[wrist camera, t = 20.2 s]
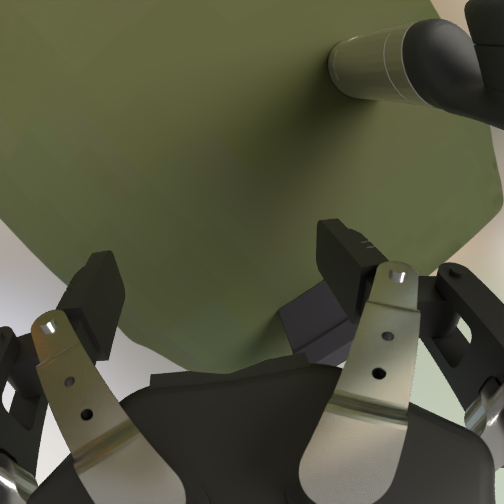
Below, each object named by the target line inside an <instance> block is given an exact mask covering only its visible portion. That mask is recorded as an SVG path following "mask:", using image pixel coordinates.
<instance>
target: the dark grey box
mask: <svg viewBox="0 0 504 504" xmlns="http://www.w3.org/2000/svg"><path fill="white" fill-rule="evenodd" d="M278 312H279V315H280V318H281V320H282V323H283V326H284V329H285V332H286V334H287V337H288V340H289V343H290V346H291V348H292V351H293V355H294V354H299V353H304V352H305V354H306V356H307V359H308V362H309V363H319V364H327V365H332V366H337V365H339V364H341V363H343V362H344V361H346V360H347V357H348V354H349V351H350V349H351V346H352V343H353V340H354V337H355V334H356V331H357V328H358V325H359V324H355V325H352V324H351V322H350V320H349V319H348V317H347V315H346V314H345V312H344V310H343V309H342V307H341V305H340V304H339V302H338V301H337V299H336V297H335V296H334V294H333V292H332V291H331V289H330V288H329V286H328V284H327V283H326V281H325V280H323V281H322V282H320V283H319V284H317V285H316V286H314V287H313V288H311V289H310V290H308V291H306V292H305V293H303V294H302V295H300V296H299V297H297V298H296V299H294V300H293V301H291V302H290V303H288V304H286V305H285V306H283V307H282V308H280V309H279V310H278Z"/></svg>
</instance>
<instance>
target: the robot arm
mask: <svg viewBox="0 0 504 504" xmlns="http://www.w3.org/2000/svg"><path fill="white" fill-rule="evenodd" d="M464 11H465V17H466V21H467V25H468V28H469V32H470V35H471V38H472V39H471V38H470V37H469V36H468V35H467V33H466V32H465V31H463V30H462V29H461V28H460V27H458V26H457V25H456V24H454V23H452V22H450V21H447V20H443V19H428V20H423V21H418V22H413V23H408V24H403V25H399V26H395V27H391V28H387V29H383V30H379V31H375V32H372V33H368V34H365V35H361V36H358V37H354V38H351V39H348V40H345V41H342V42H340V43H339V44H337V45H336V46H335V47H334V48H333V49H332V51H331V53H330V55H329V59H328V70H329V74H330V77H331V79H332V81H333V83H334V84H335V86H336V87H337V88H338V89H339V90H340V91H341V92H343V93H344V94H346V95H348V96H350V97H353V98H358V99H370V100H380V101H390V102H398V103H406V104H414V105H421V106H428V107H434V108H439V109H443V110H445V111H447V112H449V113H452V114H456V115H460V116H464V117H468V118H471V119H474V120H478V121H481V122H483V123H486V124H489V125H492V126H494V127H497V128H500V129H502V130H504V0H469V1H468V2H467V3H466V5H465V9H464ZM316 262H317V266H318V270H319V272H320V273H321V275H322V277H323V278H324V280H325V281H326V283H327V284H328V286H329V288H330V289H331V291H332V292H333V294H334V296H335V297H336V299H337V301H338V302H339V304H340V305H341V307H342V309H343V310H344V312H345V314H346V315H347V317H348V319H349V320H350V322H351V324H352V325H355V324H359V325H358V328H357V331H356V334H355V337H354V340H353V343H352V346H351V349H350V351H349V354H348V357H347V360H346V363H345V365H344V368H343V369H342V368H339V367H336V366H332V365H327V364H319V363H309V362H308V359H307V356H306V354H305V352H304V353H299V354H294V355H289V356H284V357H279V358H274V359H268V360H265V361H263V362H260V363H258V364H255V365H252V366H250V367H247V368H244V369H242V370H239V371H236V372H234V373H230V374H215V373H202V372H191V371H185V372H174V373H162V374H151V376H150V377H151V378H150V386H148V387H145V388H143V389H140V390H138V391H136V392H134V393H132V394H130V395H129V396H127V397H125V398H124V399H123V400H122V401H120V402H118V400H117V399H116V397H115V396H114V395H113V393H112V392H111V390H110V389H109V387H108V386H107V384H106V383H105V381H104V380H103V378H102V377H101V375H100V373H99V372H98V370H97V369H96V367H95V364H96V361H105V360H109V356H110V352H111V347H112V344H113V340H114V336H115V332H116V328H117V325H118V321H119V317H120V314H121V310H122V307H123V303H124V300H125V289H124V284H123V281H122V278H121V276H120V273H119V270H118V267H117V264H116V261H115V257H114V255H113V253H112V251H110V250H108V251H102V252H96V253H92V255H91V256H90V258H89V260H88V261H87V263H86V265H85V267H82V268H81V269H80V270H79V271H78V272H77V273H76V274H75V275H74V276H73V278H72V280H71V282H70V284H69V285H68V287H67V289H66V291H65V293H64V294H63V296H62V298H61V300H60V302H59V304H58V306H57V307H56V309H55V310H51V311H48V312H46V313H44V314H42V315H41V316H40V317H38V318H37V319H36V320H35V322H34V323H33V325H32V327H31V333H28V334H25V335H22V336H19V337H16V335H15V334H14V332H13V330H12V329H11V328H10V327H8V326H4V327H0V504H495V487H494V483H495V471H496V470H498V469H499V468H504V304H503V303H502V302H501V301H500V300H499V299H498V298H497V297H496V296H495V294H494V293H493V292H491V291H490V290H489V288H488V287H487V286H486V285H485V284H483V282H482V281H481V280H479V279H478V278H477V277H476V276H475V275H474V274H473V273H472V272H471V271H470V270H469V269H468V268H466V267H464V266H462V265H460V264H457V263H450V262H448V263H443V264H441V265H440V266H439V268H438V272H437V276H418V273H417V271H416V270H415V269H414V268H413V267H412V266H410V265H408V264H406V263H403V262H398V261H389V260H388V259H387V258H386V257H385V256H384V255H383V254H382V253H381V252H380V251H379V250H378V249H377V248H376V247H374V245H373V244H372V243H371V242H368V239H367V238H365V237H364V236H363V235H362V234H361V233H359V232H357V231H355V230H353V229H348V228H347V227H346V226H345V225H344V224H343V223H342V222H341V221H340V220H339V219H337V218H336V219H328V220H320V221H318V223H317V244H316ZM460 317H461V318H462V319H463V320H464V321H465V322H466V323H467V325H468V326H469V328H470V330H471V334H472V339H471V343H469V342H468V341H467V339H466V338H465V337H464V335H463V334H462V333H461V332H460V330H459V329H458V328H457V324H458V321H459V319H460ZM418 338H421V340H422V342H423V343H424V345H425V346H426V348H427V349H428V351H429V352H430V354H431V356H432V357H433V359H434V360H435V362H436V363H437V365H438V367H439V368H440V370H441V371H442V373H443V375H444V376H445V378H446V379H447V381H448V383H449V385H450V386H451V388H452V390H453V391H454V393H455V395H456V397H457V398H458V400H459V402H460V404H461V405H462V407H463V409H464V411H465V417H464V422H465V426H466V428H465V427H463V426H460V425H458V424H456V423H454V422H451V421H449V420H447V419H445V418H443V417H440V416H438V415H436V414H434V413H432V412H430V411H428V410H425V409H423V408H421V407H419V406H417V405H415V404H413V403H411V402H409V400H410V394H411V389H412V383H413V376H414V370H415V363H416V356H417V347H418ZM7 381H8V382H9V383H10V384H11V386H12V387H13V388H14V389H15V390H16V391H15V395H14V397H13V401H12V404H11V407H10V411H9V413H8V412H7V411H6V410H5V408H4V406H3V403H2V393H3V391H4V388H5V385H6V382H7ZM48 403H49V406H50V408H51V411H52V413H53V415H54V418H55V420H56V422H57V425H58V427H59V429H60V431H61V433H62V436H63V438H64V440H65V442H66V444H67V446H68V448H69V450H70V452H71V453H70V454H69V455H68V456H67V457H66V458H65V459H64V461H62V463H61V464H60V465H59V466H58V467H57V468H56V469H55V470H54V471H53V472H52V473H51V474H50V475H49V476H48V477H47V478H46V479H45V480H44V481H43V482H42V484H40V485H39V486H38V484H37V481H36V479H35V476H36V468H37V460H38V453H39V447H40V441H41V435H42V430H43V425H44V420H45V415H46V410H47V406H48Z"/></svg>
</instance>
